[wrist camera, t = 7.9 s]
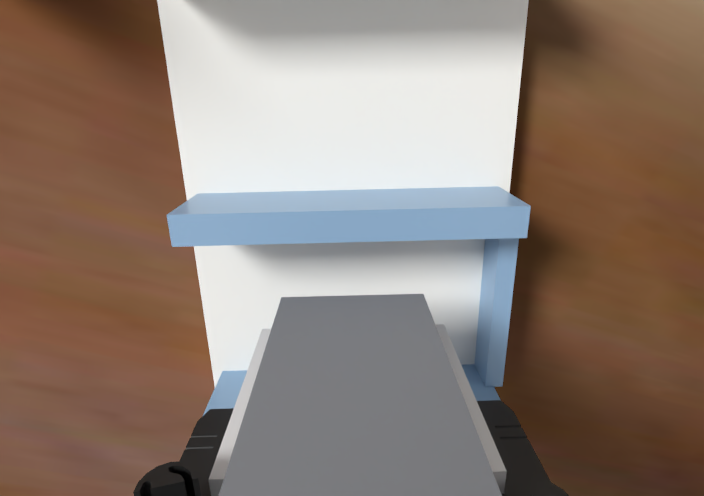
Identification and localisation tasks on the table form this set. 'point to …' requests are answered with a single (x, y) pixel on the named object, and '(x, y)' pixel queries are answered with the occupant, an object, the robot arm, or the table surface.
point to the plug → (357, 406)
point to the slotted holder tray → (348, 163)
